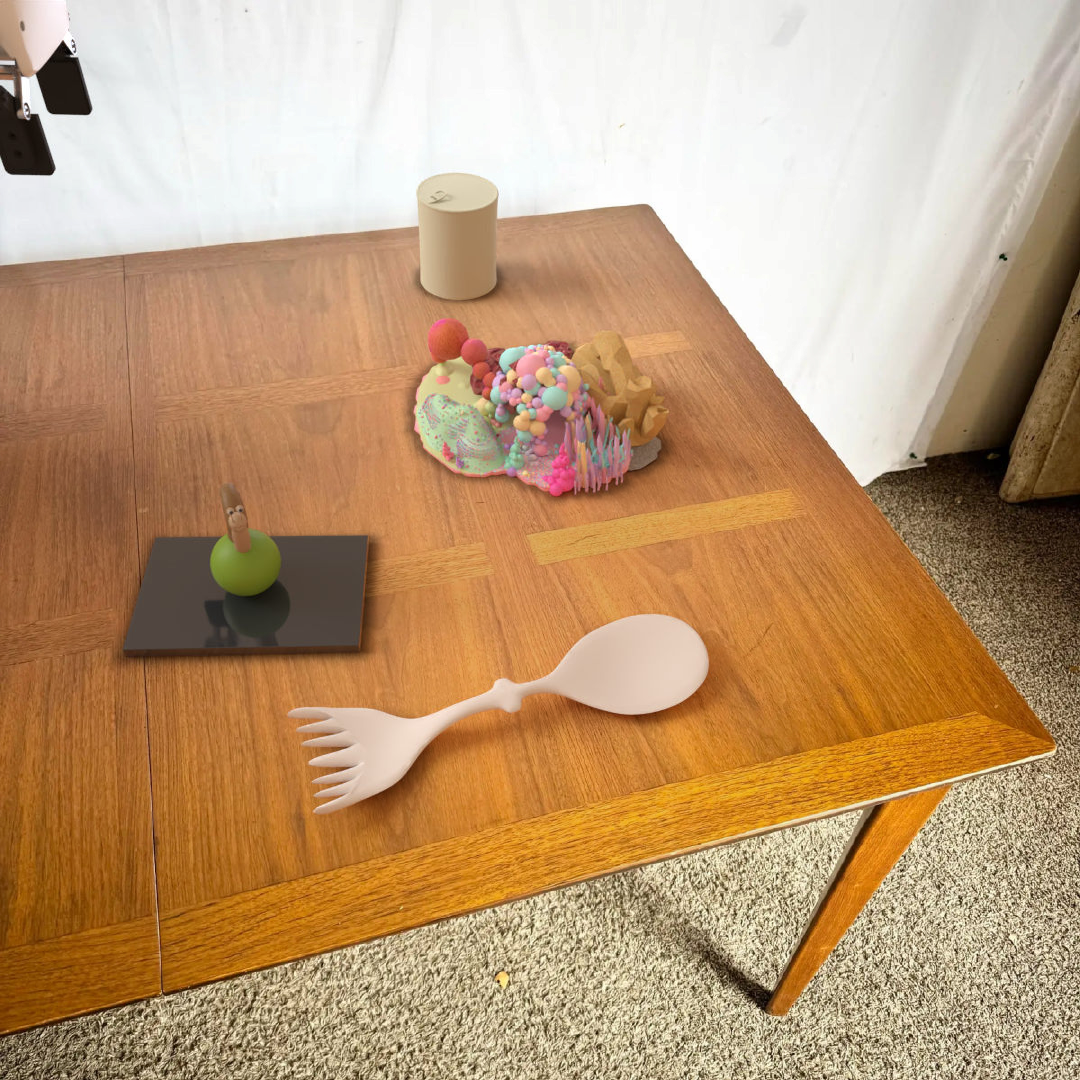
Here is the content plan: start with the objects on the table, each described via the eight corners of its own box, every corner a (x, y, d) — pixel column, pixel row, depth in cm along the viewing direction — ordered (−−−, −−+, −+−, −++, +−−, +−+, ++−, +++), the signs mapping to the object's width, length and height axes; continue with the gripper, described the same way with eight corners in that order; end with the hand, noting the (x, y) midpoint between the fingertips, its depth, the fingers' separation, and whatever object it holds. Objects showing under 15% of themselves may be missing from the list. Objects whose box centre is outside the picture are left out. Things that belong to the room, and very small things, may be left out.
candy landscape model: (612, 339, 108) (621, 266, 101) (698, 477, 93) (715, 402, 86) (393, 372, 102) (387, 296, 95) (446, 525, 87) (444, 448, 80)
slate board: (127, 661, 75) (122, 649, 74) (159, 548, 83) (155, 536, 82) (360, 656, 76) (358, 645, 75) (369, 546, 85) (368, 534, 84)
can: (404, 279, 115) (398, 183, 106) (463, 254, 119) (463, 160, 111) (453, 313, 110) (451, 215, 102) (513, 286, 115) (516, 191, 106)
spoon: (290, 731, 71) (284, 704, 69) (670, 615, 81) (676, 588, 78) (319, 837, 66) (313, 812, 63) (724, 699, 75) (732, 673, 73)
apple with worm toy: (228, 626, 76) (195, 520, 67) (211, 570, 80) (179, 462, 71) (295, 606, 78) (273, 500, 69) (276, 552, 82) (252, 445, 73)
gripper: (-53, -178, 62) (34, 92, 75) (-171, -109, 51) (-45, 198, 63) (67, -173, 63) (133, 94, 75) (-23, -102, 51) (73, 201, 64)
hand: (52, 141), depth 69 cm, fingers open, 9 cm apart
